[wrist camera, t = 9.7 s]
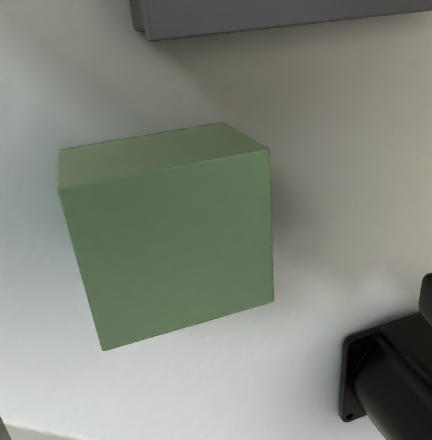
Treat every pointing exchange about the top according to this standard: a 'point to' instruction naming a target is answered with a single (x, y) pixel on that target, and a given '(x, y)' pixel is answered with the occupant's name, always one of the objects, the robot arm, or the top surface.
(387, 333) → the robot arm
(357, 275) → the top surface
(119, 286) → the sage box
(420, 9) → the storage box
